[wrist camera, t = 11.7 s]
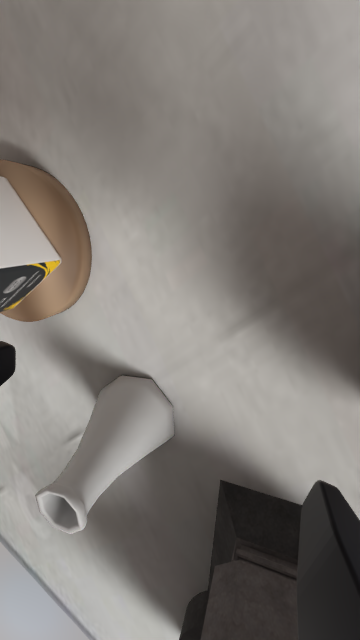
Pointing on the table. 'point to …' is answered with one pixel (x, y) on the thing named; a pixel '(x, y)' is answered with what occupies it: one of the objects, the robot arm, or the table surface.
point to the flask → (108, 449)
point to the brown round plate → (52, 241)
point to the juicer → (249, 571)
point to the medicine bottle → (21, 249)
